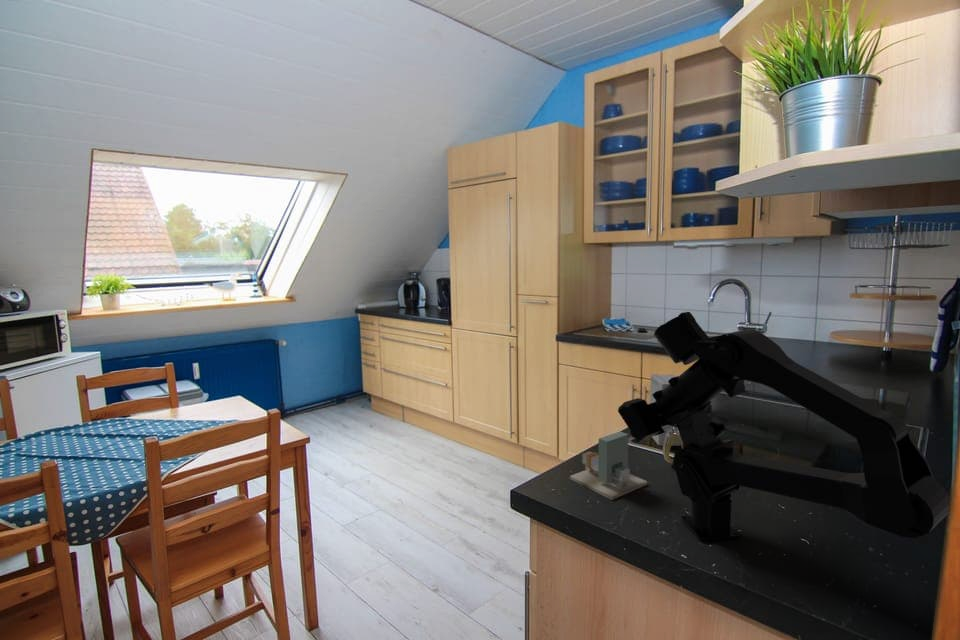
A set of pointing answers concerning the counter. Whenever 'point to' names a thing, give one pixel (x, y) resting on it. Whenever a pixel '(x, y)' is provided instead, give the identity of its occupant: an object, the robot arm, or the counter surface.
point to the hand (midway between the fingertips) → (637, 433)
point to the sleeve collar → (611, 455)
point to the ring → (670, 442)
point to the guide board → (609, 489)
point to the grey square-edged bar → (617, 469)
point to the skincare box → (656, 385)
